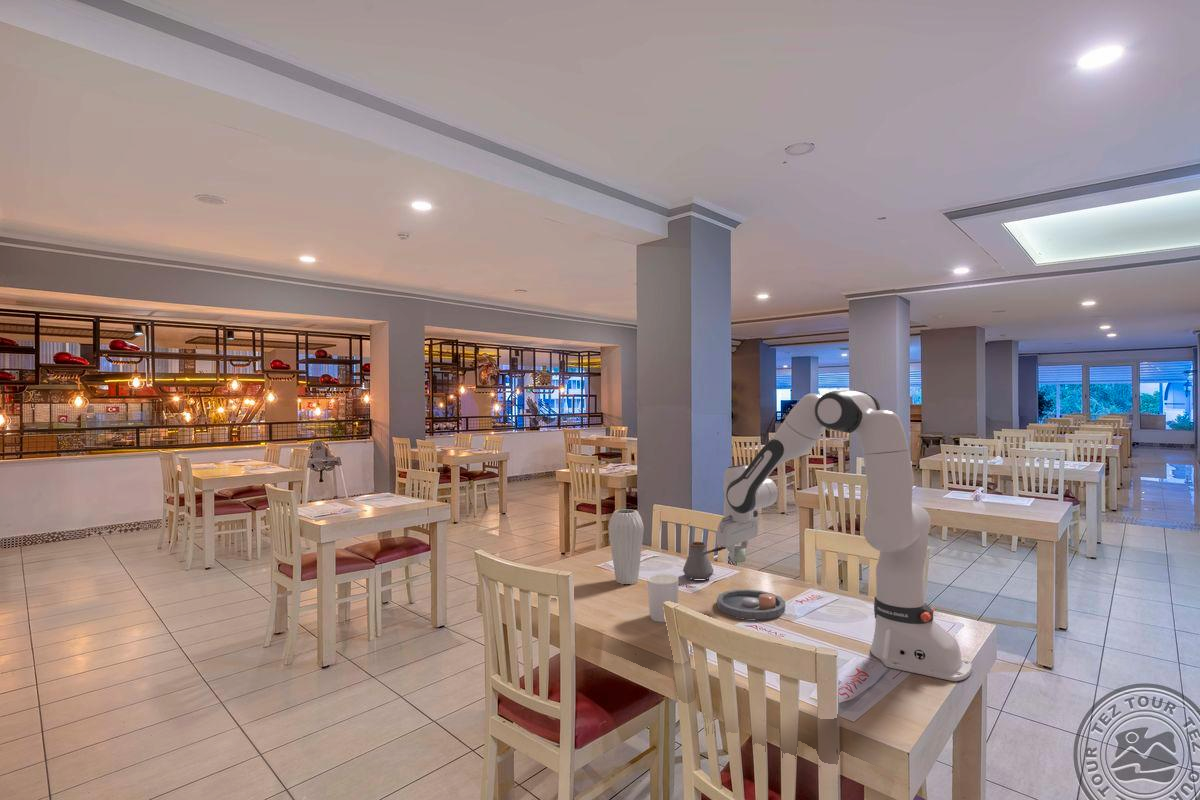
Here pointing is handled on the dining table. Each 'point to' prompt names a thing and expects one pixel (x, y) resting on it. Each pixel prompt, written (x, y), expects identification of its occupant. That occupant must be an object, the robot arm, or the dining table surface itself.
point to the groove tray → (748, 613)
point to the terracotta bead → (766, 601)
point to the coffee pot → (699, 561)
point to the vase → (626, 544)
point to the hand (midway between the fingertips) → (737, 555)
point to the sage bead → (739, 555)
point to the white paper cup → (661, 594)
